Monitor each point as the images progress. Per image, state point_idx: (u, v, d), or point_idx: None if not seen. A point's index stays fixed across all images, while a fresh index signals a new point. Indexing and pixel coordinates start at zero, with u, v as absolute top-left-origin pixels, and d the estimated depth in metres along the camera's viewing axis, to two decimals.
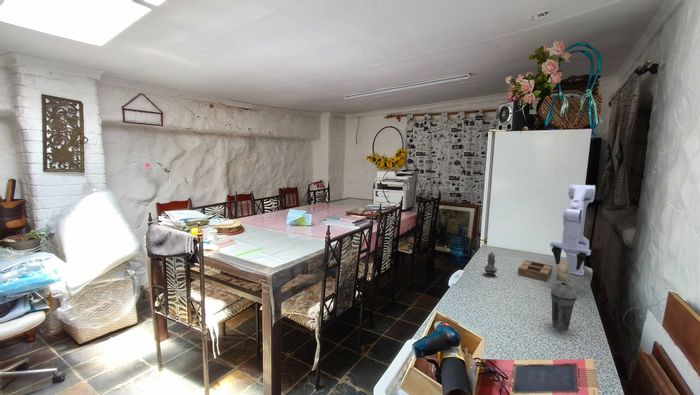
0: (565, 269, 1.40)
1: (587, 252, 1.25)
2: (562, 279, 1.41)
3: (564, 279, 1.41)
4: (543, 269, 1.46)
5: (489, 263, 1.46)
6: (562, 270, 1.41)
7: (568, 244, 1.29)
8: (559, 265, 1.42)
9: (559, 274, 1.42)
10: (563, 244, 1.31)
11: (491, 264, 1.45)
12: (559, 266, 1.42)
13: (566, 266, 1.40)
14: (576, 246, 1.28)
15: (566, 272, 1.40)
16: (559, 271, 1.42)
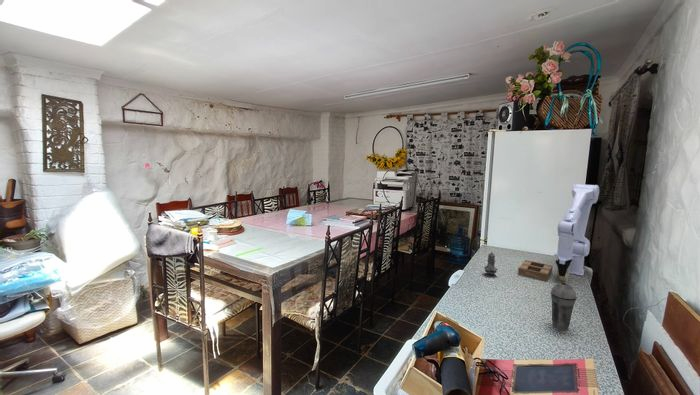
0: None
1: (559, 260, 1.37)
2: (562, 279, 1.41)
3: (564, 279, 1.41)
4: (543, 269, 1.46)
5: (489, 263, 1.46)
6: None
7: (557, 251, 1.42)
8: None
9: None
10: None
11: (491, 264, 1.45)
12: None
13: None
14: (561, 255, 1.40)
15: (566, 272, 1.40)
16: None
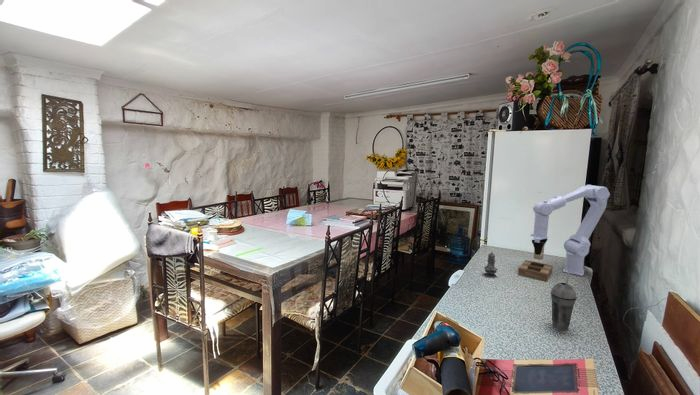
0: None
1: None
2: (538, 257, 1.50)
3: (540, 257, 1.49)
4: (543, 269, 1.46)
5: (489, 263, 1.46)
6: None
7: None
8: None
9: None
10: None
11: (491, 264, 1.45)
12: None
13: None
14: (537, 234, 1.48)
15: (542, 251, 1.49)
16: None
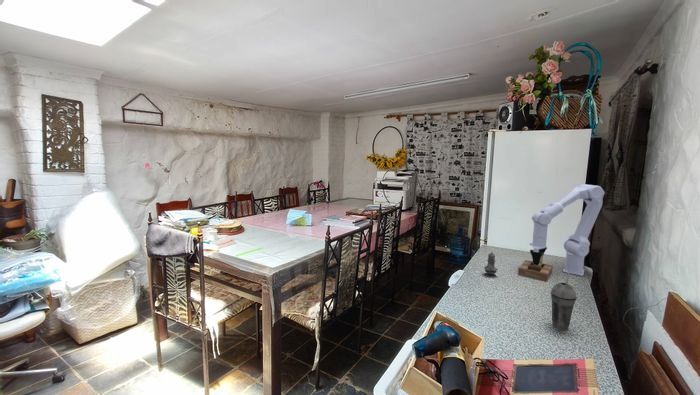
0: None
1: None
2: None
3: None
4: (543, 269, 1.46)
5: (489, 263, 1.46)
6: None
7: None
8: None
9: None
10: None
11: (491, 264, 1.45)
12: None
13: None
14: (536, 244, 1.49)
15: (540, 262, 1.50)
16: None
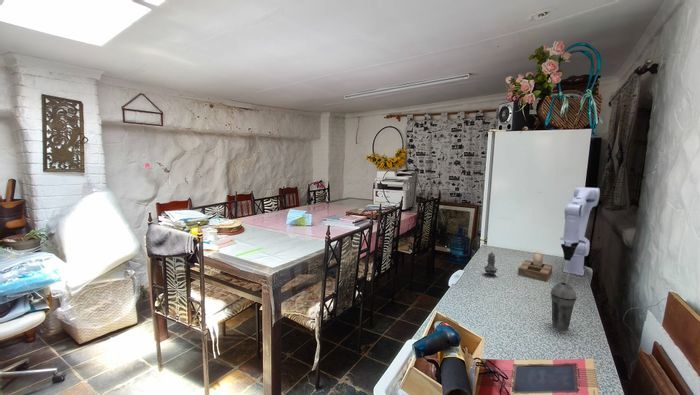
0: (539, 259, 1.50)
1: (565, 242, 1.36)
2: None
3: None
4: (543, 269, 1.46)
5: (489, 263, 1.46)
6: (536, 260, 1.50)
7: None
8: (534, 255, 1.51)
9: (534, 264, 1.52)
10: None
11: (491, 264, 1.45)
12: (534, 256, 1.51)
13: (540, 256, 1.49)
14: (567, 238, 1.38)
15: (540, 262, 1.50)
16: (534, 261, 1.51)
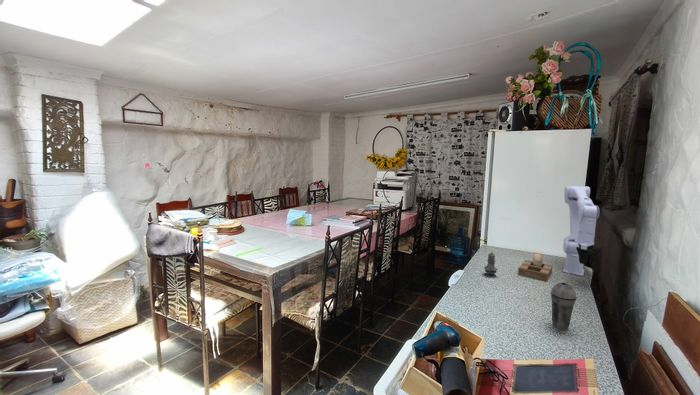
0: (539, 259, 1.50)
1: (581, 246, 1.32)
2: None
3: None
4: (543, 269, 1.46)
5: (489, 263, 1.46)
6: (536, 260, 1.50)
7: (578, 237, 1.37)
8: (534, 255, 1.51)
9: (534, 264, 1.52)
10: None
11: (491, 264, 1.45)
12: (534, 256, 1.51)
13: (540, 256, 1.49)
14: (582, 240, 1.34)
15: (540, 262, 1.50)
16: (534, 261, 1.51)
